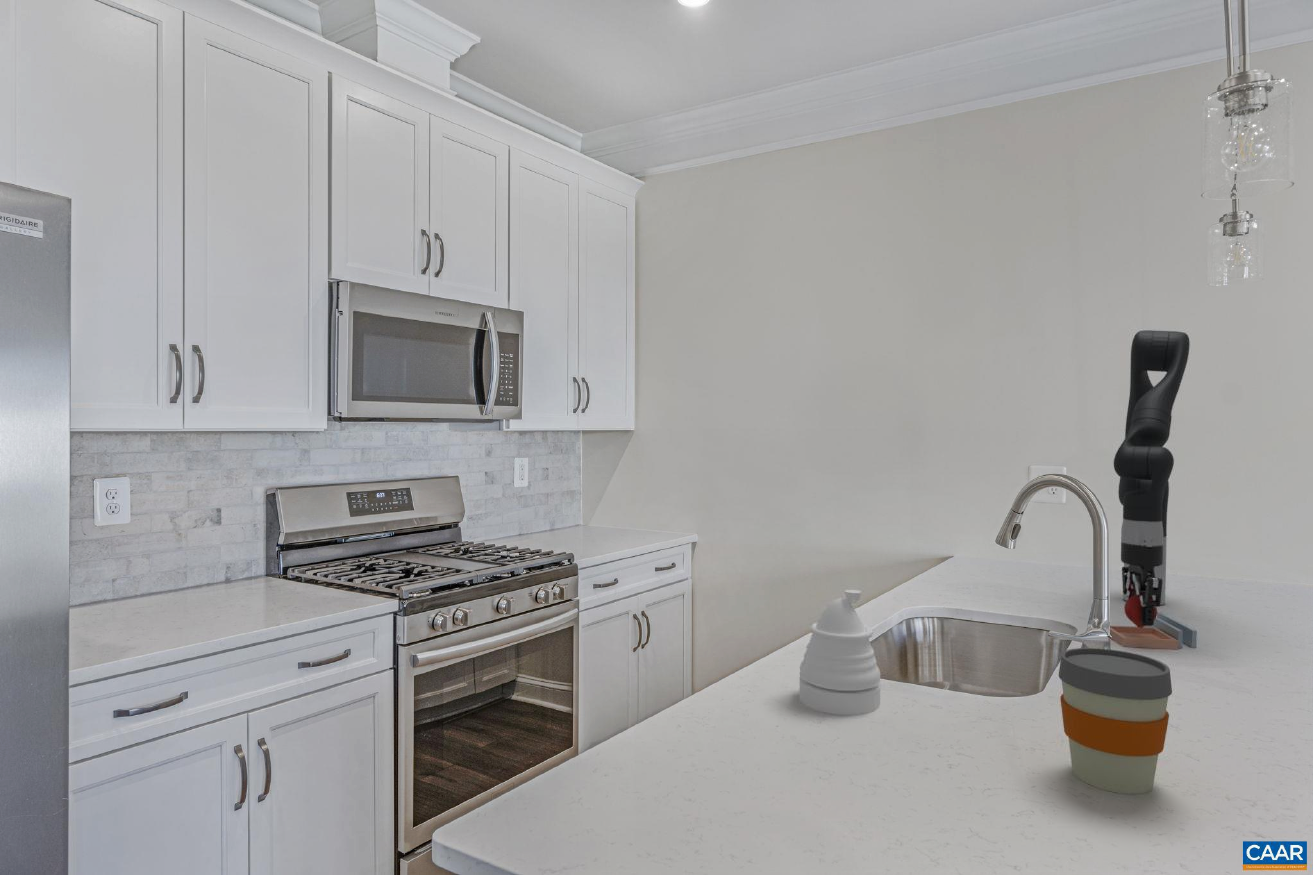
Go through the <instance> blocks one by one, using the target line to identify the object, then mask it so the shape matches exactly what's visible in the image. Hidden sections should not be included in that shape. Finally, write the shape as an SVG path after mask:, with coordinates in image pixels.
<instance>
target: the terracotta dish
mask: <svg viewBox="0 0 1313 875" xmlns="http://www.w3.org/2000/svg"><path fill="white" fill-rule="evenodd" d="M1110 635H1111V636H1112V639H1111V640H1113V641H1115V642H1116V643H1117V644H1119V645H1120V646H1121V647H1125V648H1146V649H1161V650H1162V649H1163V650H1179V648H1178V640H1176V639H1175V638H1173V637H1171V636H1169V635H1167V634H1166V633H1164V632H1162V631H1160V630H1159V629H1157V628H1150V627H1143V628H1139V627H1137V626H1127V625H1126V626H1125V625H1110Z"/></svg>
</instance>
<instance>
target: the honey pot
mask: <svg viewBox="0 0 1313 875" xmlns="http://www.w3.org/2000/svg"><path fill="white" fill-rule="evenodd" d="M844 595H845V598H843V597H842V598H841V597H840V598H835V599H833V600H831V601H830V603H828V604H827V605H826V607H825V608H824V610H823V611H822V613H821V614H820V617H819V619H818V621H817V622H814V623H812V625H811V626H810V632H811V633H812V634H811V636H810V639H809V642H808V644H806V647H805V648H806V651H805V653H804V654H803V660H802V661H801V662H800V665H799V691H798V692H799V694H798V695H799V700H800V702H801V703H802V704H803V705H804V706H806V707H807V708H810V709H812V710H815V711H819V712H823V713H827V714H832V715H841V716H842V715H843V716H857V715H859V716H860V715H864V714H869V713H874V712H875V711H876V710H878V709H880V706H881V670H880V668H879V667H878V665H877V663H878V662H877V659H876V657H875V651H874V650H875V649H874V648H873V647H872V646H871V643H870V638H872V637H873V635H874V630H873V629H872V628H871V627H869V626H868V625H866V624H864V623H863V622H862V620H861V618H860V616H859V614H858V612H857V610H856V609H855V607H854V606H853V604H857V603H858V602H859V601H860V598H861V596H862V591H861V590H858V589H846V590H844Z"/></svg>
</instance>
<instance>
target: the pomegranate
mask: <svg viewBox="0 0 1313 875" xmlns="http://www.w3.org/2000/svg"><path fill="white" fill-rule="evenodd" d="M1141 607H1142V606H1141V602H1140V597H1139V596H1138V595H1137V594H1135V595H1133V596H1132V597H1130V598H1129V599H1128V600H1127V601H1125V603H1124V613H1125V615H1126V616H1125V617H1127V618H1128V620H1129V621H1131V623H1133V624H1134V625H1135V627H1139V628H1143V627H1145V625H1142V624H1141ZM1157 612H1158V609H1157V607H1156V608H1154V620H1155V618H1156V617H1157Z"/></svg>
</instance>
